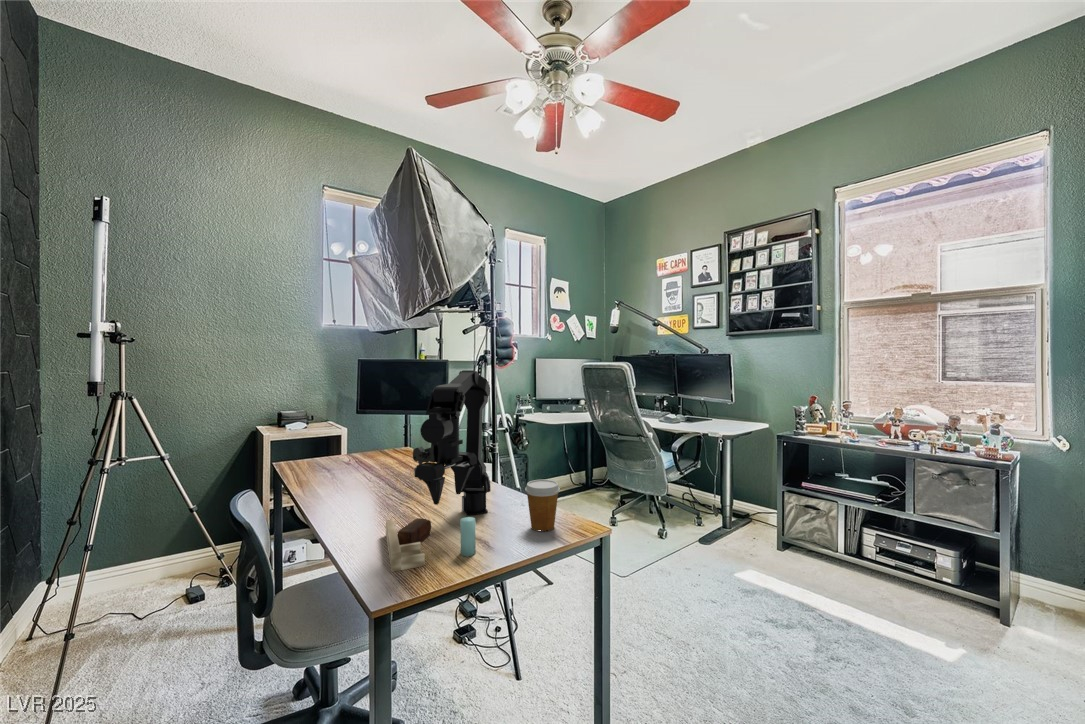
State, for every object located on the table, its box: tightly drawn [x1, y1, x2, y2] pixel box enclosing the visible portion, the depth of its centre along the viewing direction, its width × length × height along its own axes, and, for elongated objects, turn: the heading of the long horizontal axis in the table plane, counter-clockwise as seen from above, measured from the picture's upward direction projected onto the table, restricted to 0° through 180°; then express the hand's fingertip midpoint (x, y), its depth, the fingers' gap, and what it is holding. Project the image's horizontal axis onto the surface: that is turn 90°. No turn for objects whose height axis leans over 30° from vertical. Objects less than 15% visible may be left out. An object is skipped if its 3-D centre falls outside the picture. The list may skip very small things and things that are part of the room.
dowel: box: [460, 516, 477, 557], centre depth 104 cm, size 4×4×8 cm
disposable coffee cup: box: [524, 479, 561, 532], centre depth 120 cm, size 10×10×12 cm
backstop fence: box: [385, 518, 426, 573], centre depth 107 cm, size 7×22×4 cm, turn 23°
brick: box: [397, 517, 432, 545], centre depth 111 cm, size 11×4×5 cm, turn 168°
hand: (447, 499), depth 109 cm, fingers open, 9 cm apart
